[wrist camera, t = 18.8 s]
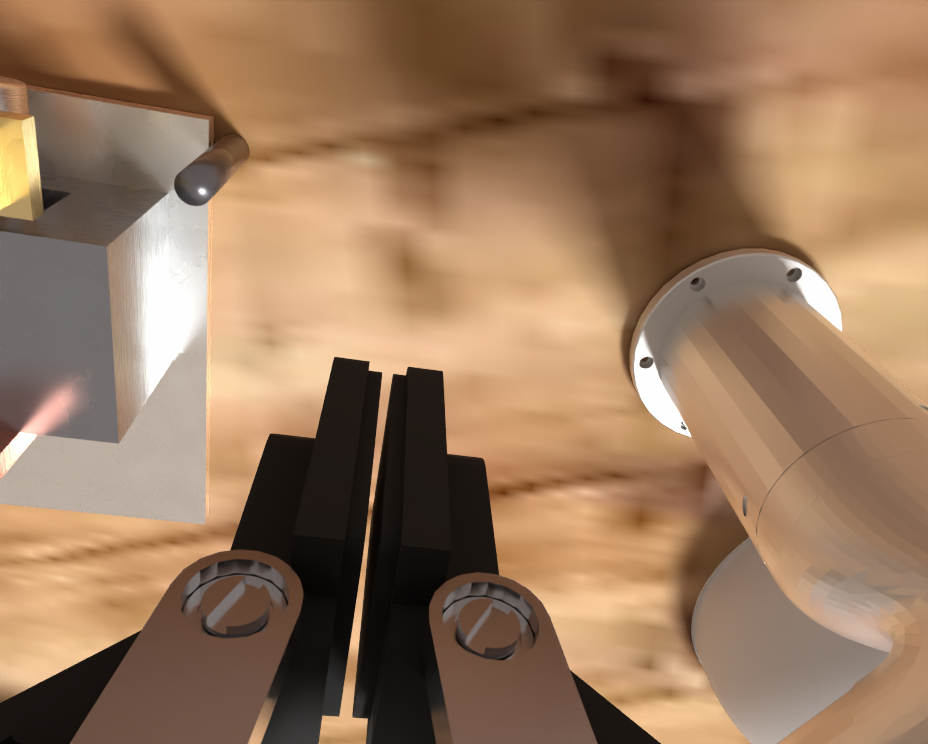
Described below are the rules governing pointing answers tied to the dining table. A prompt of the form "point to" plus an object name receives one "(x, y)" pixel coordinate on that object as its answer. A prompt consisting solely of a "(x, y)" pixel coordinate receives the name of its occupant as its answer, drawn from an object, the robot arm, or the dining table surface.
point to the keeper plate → (19, 167)
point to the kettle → (769, 651)
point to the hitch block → (113, 310)
